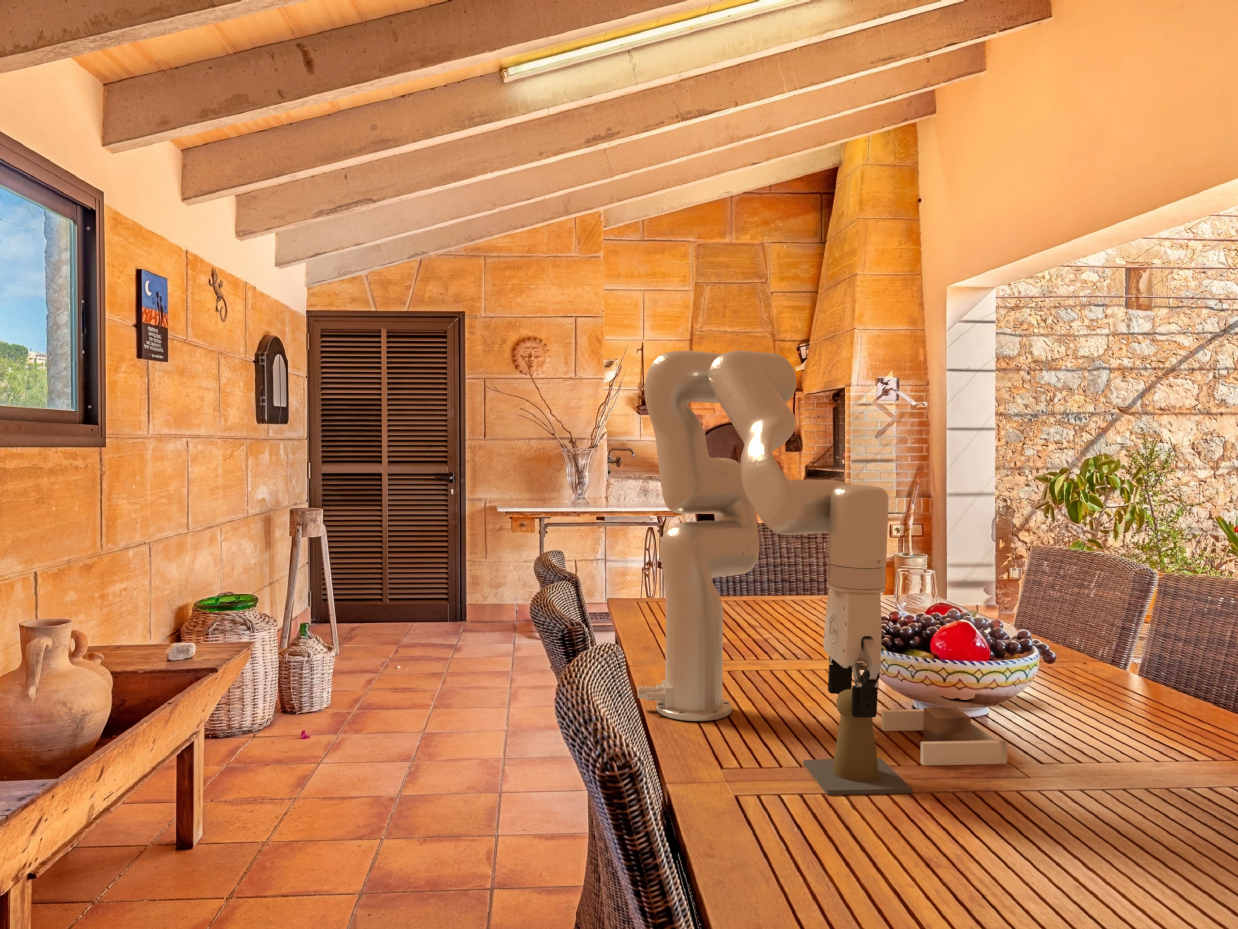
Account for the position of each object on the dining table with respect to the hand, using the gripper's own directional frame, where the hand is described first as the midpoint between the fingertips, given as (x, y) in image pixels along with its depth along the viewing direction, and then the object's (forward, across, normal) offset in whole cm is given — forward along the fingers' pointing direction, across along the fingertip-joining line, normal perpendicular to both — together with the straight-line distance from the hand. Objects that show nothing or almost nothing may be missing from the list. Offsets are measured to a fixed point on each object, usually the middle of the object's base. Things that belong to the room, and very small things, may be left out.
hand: (851, 704), depth 118 cm
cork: (+9, +1, +1) cm, 9 cm away
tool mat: (+10, +1, +1) cm, 10 cm away
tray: (+10, -11, +17) cm, 22 cm away
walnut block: (+10, -11, +18) cm, 24 cm away
